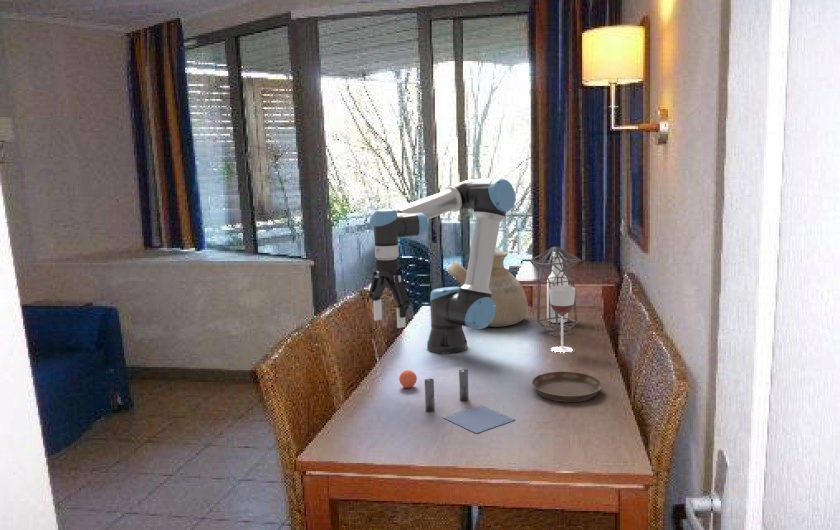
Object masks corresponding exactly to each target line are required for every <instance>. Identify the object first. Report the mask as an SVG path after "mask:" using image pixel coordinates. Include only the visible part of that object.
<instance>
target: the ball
mask: <svg viewBox="0 0 840 530" xmlns="http://www.w3.org/2000/svg"><path fill="white" fill-rule="evenodd" d="M417 377H418V376H417V374H416V373H415V371H414V370H410V369H406V370H403V371H402V372H401V373H400V376H399V379H398V380H399V384H400V385H401V386H402V387H404V388H406V389H409V388H412V387H414V386H415V385H416V383H417V380H418V379H417Z"/></svg>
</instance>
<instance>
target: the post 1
mask: <svg viewBox="0 0 840 530" xmlns="http://www.w3.org/2000/svg"><path fill="white" fill-rule="evenodd" d="M424 401H425V402H424V403H425V412H428V413H431V412H435V410H436V409H435V408H436V407H435V405H436V404H435V379H434V378H425V379H424Z"/></svg>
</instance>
